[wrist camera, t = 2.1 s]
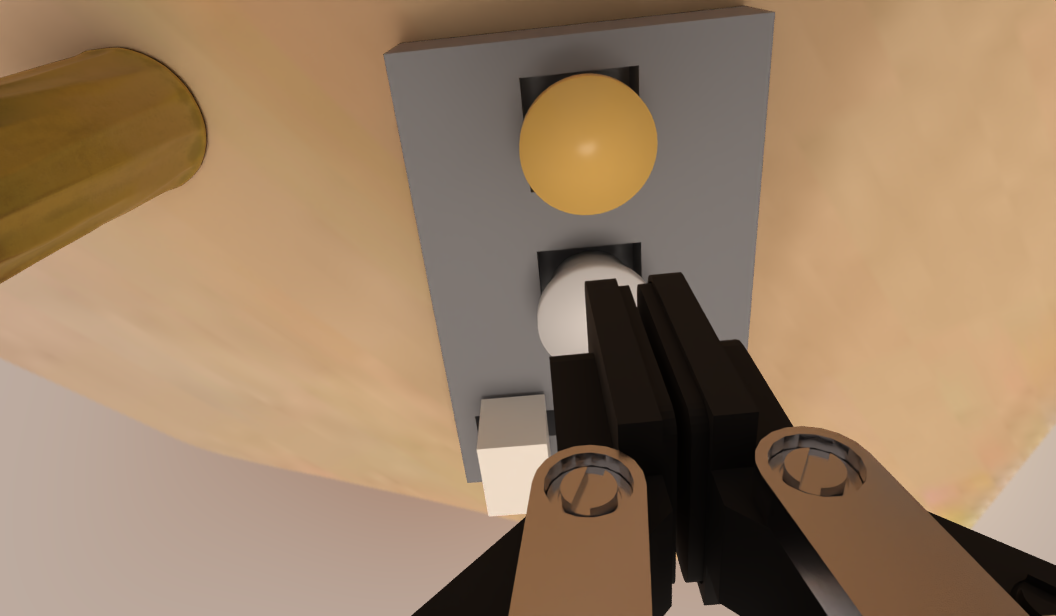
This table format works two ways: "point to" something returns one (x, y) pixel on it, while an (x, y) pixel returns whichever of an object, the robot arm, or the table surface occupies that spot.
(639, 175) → the amber button
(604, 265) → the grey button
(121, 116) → the vase
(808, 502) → the robot arm
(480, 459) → the white block
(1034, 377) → the table surface
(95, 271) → the table surface
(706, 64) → the panel
